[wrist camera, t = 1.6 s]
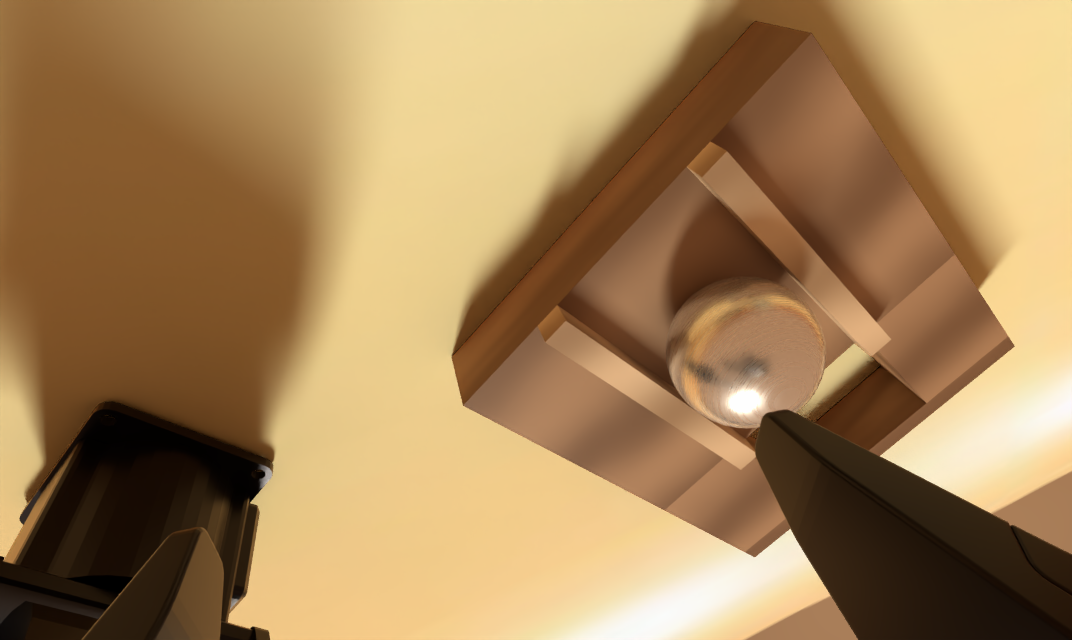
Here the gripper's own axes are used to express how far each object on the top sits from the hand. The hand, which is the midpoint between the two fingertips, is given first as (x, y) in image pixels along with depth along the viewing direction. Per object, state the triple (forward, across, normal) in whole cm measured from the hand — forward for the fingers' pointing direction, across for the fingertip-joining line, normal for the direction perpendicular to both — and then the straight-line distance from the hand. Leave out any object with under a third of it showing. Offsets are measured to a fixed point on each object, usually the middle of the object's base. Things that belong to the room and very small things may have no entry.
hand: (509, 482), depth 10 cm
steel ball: (+7, -9, +4) cm, 13 cm away
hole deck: (+13, -13, +8) cm, 20 cm away
